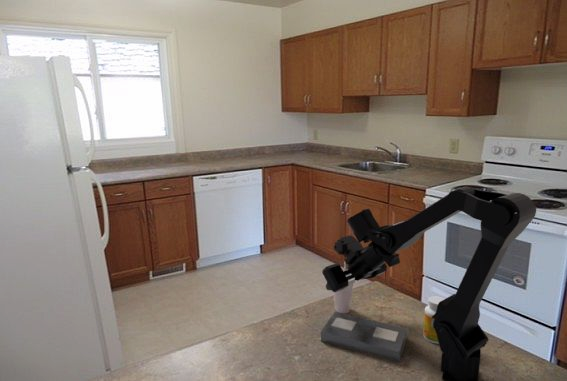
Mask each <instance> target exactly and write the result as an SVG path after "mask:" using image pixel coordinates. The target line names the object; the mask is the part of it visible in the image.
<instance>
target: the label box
mask: <svg viewBox="0 0 567 381" xmlns="http://www.w3.org/2000/svg"><path fill="white" fill-rule="evenodd" d="M407 339H408V328H407V327H402V326H399V325H395V324H390V323H387V322H386V323H385V322H381V321H377V320H372V319H369V318H366V317H365V318H363V317H359V316H355V315H351V314H348V313H339V312H337V311H334V312H333V314H332V315H331V317H330V318H329V319H328V320H327V322H326V324H325V325H324V326H323V327H322V329H321V330H320V341H321V342H324V343H327V344H331V345H335V346H338V347H342V348H346V349H349V350H353V351H357V352H360V353H362V354H363V353H364V354H367V355H371V356H374V357H379V358H382V359H386V360H389V361H393V362H397V363H400V360H401V357H402V354H403V351H404V348H405V345H406V342H407Z"/></svg>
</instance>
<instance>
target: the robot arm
mask: <svg viewBox="0 0 567 381" xmlns="http://www.w3.org/2000/svg"><path fill="white" fill-rule="evenodd" d="M460 212H463V213H464V214H465V215H467V216H469V217H470V218H473V219H475V220H477V221H478V220H479V221H480V240H479V242H478V245H477V247H476V249H475V251H474V254H472V255H473V256H472V258H471V259H470V261H469V264H468V266H467V268H466V271H465V273H464V275H463V277H462V279H461V281H460V283H459V285H458V287H457V291H455V293H454V294H451V295H450V296H448V297H446V298H444V300H442V301H440V302H439V304H438V306H437V310H436V313H435V314H434V315H433V316H432V318H434V322H433V328H434V329H435V331H436V334H437V338H438V342H439V344H438V345H439V349H440V352H441V359H440V361H441V362H440V372H441V373H442V378H441V379H442V381H480V366H481V354H482V352H481V349H482V348H484V347H486V345H487V344H488V342H489V340H490V339H489V337H488V335H487V334H486V333H485V331H484V330H483V329H482V327H481V325H480V324H479V321H480V317H481V316H480V315H481V312H480V303H481V302H482V300H483V297H484V295H485V293H486V291H487V290H488V289H489V286H490V284H491V282H492V279H493V278H494V276H495V273H496V272H497V270H498V268H499V267H500V265H501V262H502V260H503V258H504V256H505V254H506V252H507V251H508V248H509V246H511V244H512V243H513V242H514V241H515V240H516V239H517V238H518V237H519V236H520V235H521V234H523V232H524V231H525V230H526V228H527V227H528V225H529V224H530V223H531V222H532V221H533V219H535V217H536V214H537V207H536V206H535V203H534V201H533V200H532V199H531V197H529V196H527V195H526V194H524V193H520V192H512V193H510V194H508V193H503V192H498V191H497V192H496V191H492V190H491V191H490V190H483V189H479V188H478V189H477V188H473V187H471V186H463V187H462V186H461V187H457V188H454V189H452V190H450V192H448V193H447V194H446V195H444V196H443V197H441V198H439V199H438V200H437V201H435V202H434V203H432V204H431V205H429V206H427V207H425V208H424V209H423V210H421V211H419V212H417V213H416V214H415V215H412V216H411V217H410V218H408V219H406V220H403V221H400V222H397V223H394V224H392V225H391V224H385V225H382V226H380V225H379V223H378V221H377V220H376V218H375V217H374V216H373V213H372V210H371V209H370V208H364V209H362V210H360V211H359V212H358V213H356V214H354V215H353V216H350V217H348V219H347V220H346V223H347V225H348V226H349V228H350V229H351V231H352V233H353V234H354V236H353V235H352V234H351V235H346V236H343V237H340V239H337V241H335V242H334V245H333V250H334V251H335V252H336V253H337V254H338V255H343V257H345V258H344V262H345V263H346V265H347V269H346V271H344V269H343V268H342V266H341V265H340V264H339V263H333V264H331V265H328V266H325V267H324V268H323V269H322V271H321V272H322V275H323V277H324V278H325V281H326V284H325V289H326V291H331V292H333V293H334V292H337V291H340V290H342V289H344V288H346V287H347V286H348V280H351V279H353V278H355V281H361V280H366V279H368V280H369V279H373V278H376V277H377V276H381V275H383V274H384V273H386V272H387V268H388V267H389V268H392V267H394V266H397V265H399V264H400V263H401V260H400V254H399V253H398V252H399V251H401V250H404V249H408V248H411V247H412V246H413V245H414V244H415V243H416V242H418V241H419V240H420V238H421V237H422V236H423V234H425V233H426V232H427V231H429V230H430V229H432V228H435V227H436V226H437V225H439V224H441V223H443V222H445V221H446V220H448V219H450V218H452V217H454V216H455V215H457V214H458V213H459V214H460ZM362 242H363V243H364V244H367V243H368V244H367V245H366V246H365V247H364V246H363V245H362ZM386 264H387V265H386ZM387 266H388V267H387ZM351 274H352V275H351ZM348 275H349V276H348Z"/></svg>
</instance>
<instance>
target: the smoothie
mask: <svg viewBox="0 0 567 381" xmlns="http://www.w3.org/2000/svg"><path fill="white" fill-rule="evenodd" d="M346 270H347V264H346V263H345V261H344V262H343V271H346ZM351 275H352V274H351ZM348 276H349V275H348ZM355 282H356V280H355V278H353V279H351V280H348V286H347V287H346V288H344V289H342V290H340V291H337V292H333V299H334V308H335V312H339V313H343V314H348V313H349V312H350V308H351V303H352V302H351V300H352V295H353V294H352V293H353V288H354V284H355Z"/></svg>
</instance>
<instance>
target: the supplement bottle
mask: <svg viewBox="0 0 567 381" xmlns="http://www.w3.org/2000/svg"><path fill="white" fill-rule="evenodd" d="M444 299H445V298H444V297H441V296H436V295H435V296H430V297H429V298H428V300H427V301H428V302H427V303H428V304H427V305H426V306H425V308H424V313H423V316H424V318H423V332H422V335H423V337H424V339H425V340H426V341H428V343H433V344H438V345H439V342H438V338H437V334H436V331H435V329H434V328H433V322H434V318H432V316H433V315H434V314H435V313H436V310H437V306H438V304H439V302H440V301H442V300H444Z"/></svg>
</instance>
